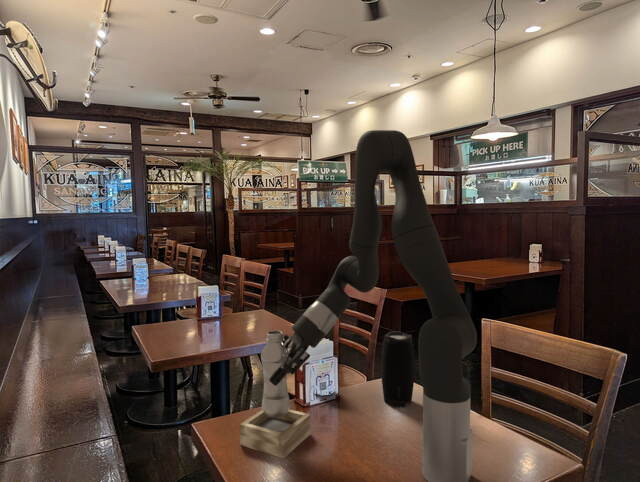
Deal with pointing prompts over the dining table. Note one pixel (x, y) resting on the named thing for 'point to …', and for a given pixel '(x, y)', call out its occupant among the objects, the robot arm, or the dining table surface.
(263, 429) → the stand
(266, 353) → the plastic bottle
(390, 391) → the portable speaker
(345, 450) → the dining table surface
